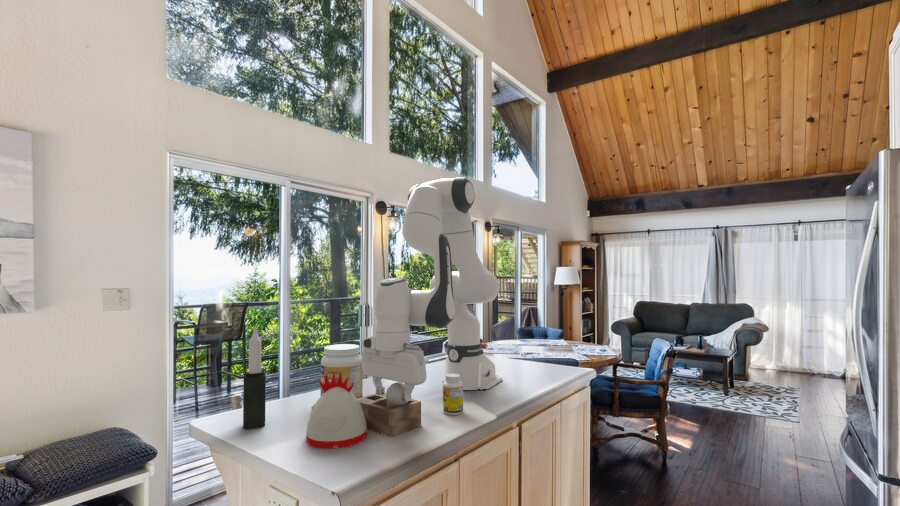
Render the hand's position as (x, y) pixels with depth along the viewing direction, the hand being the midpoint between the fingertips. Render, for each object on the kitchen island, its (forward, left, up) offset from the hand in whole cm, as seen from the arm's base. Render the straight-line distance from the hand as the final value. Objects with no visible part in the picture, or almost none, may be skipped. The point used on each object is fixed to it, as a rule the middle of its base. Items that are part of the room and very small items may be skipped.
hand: (393, 397), depth 111 cm
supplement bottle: (-18, +5, -8) cm, 20 cm away
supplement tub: (-4, -26, -8) cm, 27 cm away
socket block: (0, -3, -7) cm, 8 cm away
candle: (+21, -29, -8) cm, 37 cm away
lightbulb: (0, -2, -7) cm, 7 cm away
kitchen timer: (+13, -6, -8) cm, 16 cm away
